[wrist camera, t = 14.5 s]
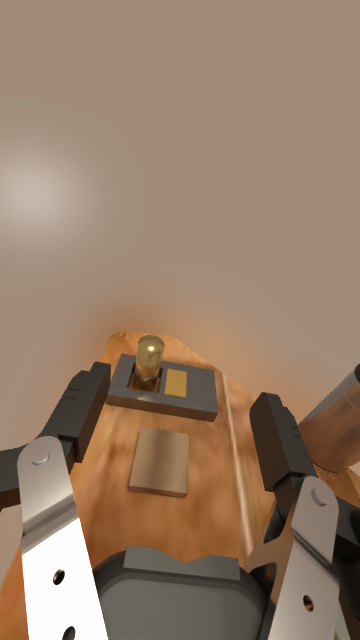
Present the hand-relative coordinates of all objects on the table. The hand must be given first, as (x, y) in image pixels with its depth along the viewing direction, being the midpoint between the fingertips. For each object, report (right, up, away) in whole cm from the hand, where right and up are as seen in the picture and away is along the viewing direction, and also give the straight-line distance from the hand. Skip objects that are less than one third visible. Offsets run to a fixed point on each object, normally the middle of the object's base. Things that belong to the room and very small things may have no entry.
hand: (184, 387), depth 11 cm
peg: (-7, -10, +32) cm, 35 cm away
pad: (-3, -18, +22) cm, 29 cm away
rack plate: (-4, -11, +33) cm, 34 cm away
